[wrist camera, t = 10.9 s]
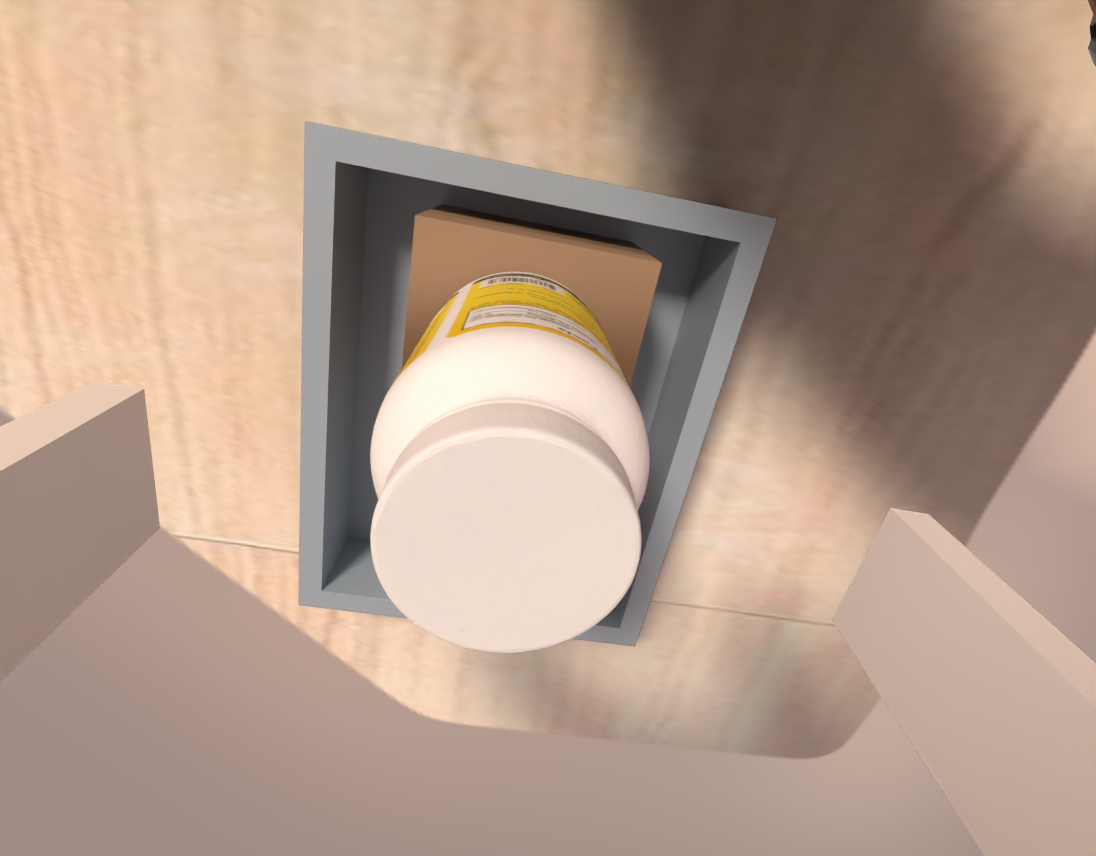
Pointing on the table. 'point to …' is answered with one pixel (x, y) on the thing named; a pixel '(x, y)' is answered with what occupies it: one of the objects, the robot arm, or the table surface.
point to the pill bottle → (509, 471)
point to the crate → (380, 316)
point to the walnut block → (530, 271)
